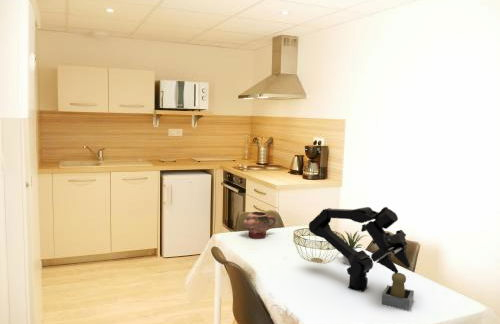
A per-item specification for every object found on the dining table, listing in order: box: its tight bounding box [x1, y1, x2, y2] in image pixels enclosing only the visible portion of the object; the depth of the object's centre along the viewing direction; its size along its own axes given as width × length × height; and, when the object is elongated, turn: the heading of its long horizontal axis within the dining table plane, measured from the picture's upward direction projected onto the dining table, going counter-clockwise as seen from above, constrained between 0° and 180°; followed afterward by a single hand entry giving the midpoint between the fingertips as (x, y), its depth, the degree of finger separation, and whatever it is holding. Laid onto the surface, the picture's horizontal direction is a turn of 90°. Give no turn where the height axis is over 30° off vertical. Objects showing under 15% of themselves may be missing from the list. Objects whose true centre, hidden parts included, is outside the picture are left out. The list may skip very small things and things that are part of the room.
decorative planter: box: [243, 211, 277, 240], centre depth 240 cm, size 20×12×14 cm, turn 116°
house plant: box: [338, 230, 369, 266], centre depth 200 cm, size 14×14×16 cm
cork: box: [390, 272, 407, 298], centre depth 159 cm, size 6×6×11 cm
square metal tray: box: [381, 284, 415, 312], centre depth 159 cm, size 10×10×4 cm
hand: (403, 269), depth 157 cm, fingers open, 9 cm apart
